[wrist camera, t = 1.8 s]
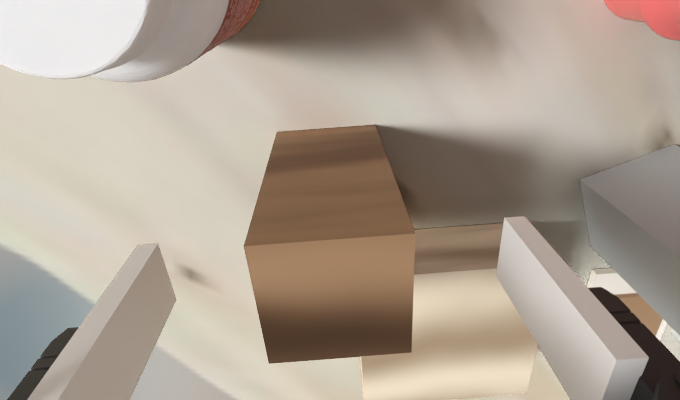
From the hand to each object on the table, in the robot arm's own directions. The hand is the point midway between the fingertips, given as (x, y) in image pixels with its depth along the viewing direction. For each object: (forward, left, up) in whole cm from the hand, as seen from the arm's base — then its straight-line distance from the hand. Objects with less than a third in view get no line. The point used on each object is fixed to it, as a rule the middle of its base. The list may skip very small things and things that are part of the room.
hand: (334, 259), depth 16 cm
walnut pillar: (0, 0, -7) cm, 7 cm away
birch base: (+9, +6, -7) cm, 13 cm away
